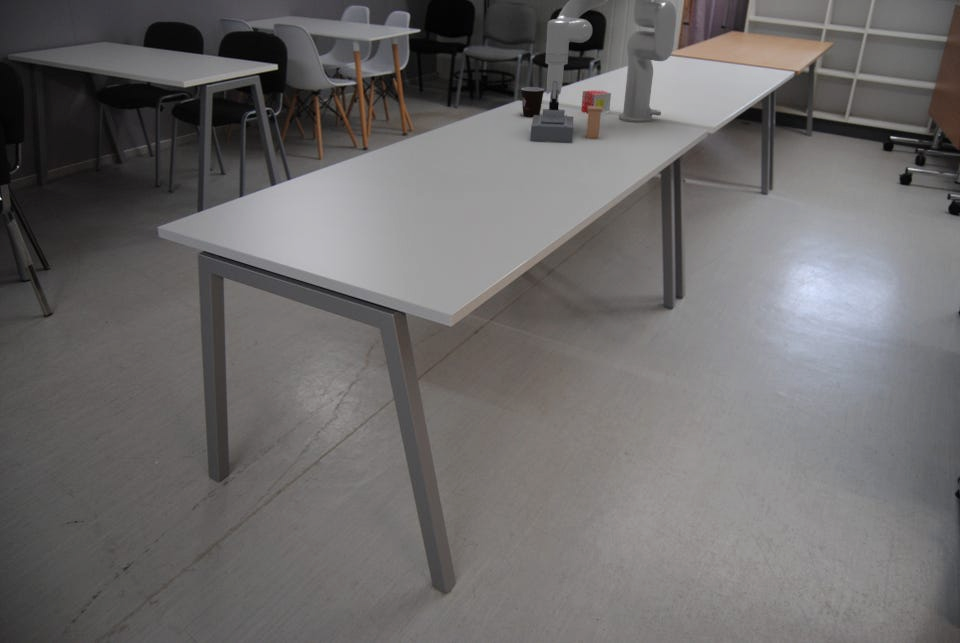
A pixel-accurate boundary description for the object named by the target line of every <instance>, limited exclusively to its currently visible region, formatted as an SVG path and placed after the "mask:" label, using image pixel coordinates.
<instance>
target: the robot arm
mask: <svg viewBox="0 0 960 643" xmlns="http://www.w3.org/2000/svg"><path fill="white" fill-rule="evenodd" d="M608 1H609V0H569V1H568V2H566V4H564V6H563V8H562V9H561V11H560V12H559V14H558V16H557V17H556V18H555V19H554V18H553V19H551V20H549V21H548V22H547V28H546V29H547V30H546V48H545V49H546V50H545V62H544V63H545V64H546V65H548V66H547V76H546V77H547V78H546V94H547V95H549V94H550V97H549V98H550V99H549V103H548V105H549V106H548V109H559V104H560V102H559V95H561V93H562V88H563V79H564V69H565V68H564V67H565V66H566V65H568V62H569V44H570V43H577V44H578V43H579V44H581V43H582V44H583V43H584V42H587V41H588V40H589V39H590V38H591V37H592V35H593V26H592V24H591V23H590V21H588V20H587V19H584V18H580V17H581V16H582V15H583V14H584V13H587V11H590V10H592V9H595V8H598V7H600V6H602V5H604V4H606V3H608ZM633 3H634V5H633V21H634V24H635V25H636V26H638V27H641V28H648V29H653V30H654V31H648V30H638V31H635V32H632V34H631V35H629V37H628V39H627V44H626V49H627V50H626V51H627V73H626V82H625V83H626V84H625V90H624V91H625V93H624V102H623V112H622V113H619V115H618V119H619V120H622V121H627V122H635V123H645V122H650V121H652V120H653V116H662V110H661V109H654V108H651V106H650V103H651V102H650V101H651V93H652V86H653V77H654V67H653V63H652V61H655V62H664V61H667V60H668V59H669V58H670V57H671V55H672V52H673V49H674V44H675V36H676V26H677V24H676V23H677V11H676V10H677V9H676V7H675V5H674V3H672V2H671V1H669V0H634V2H633Z"/></svg>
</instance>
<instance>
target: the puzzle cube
mask: <svg viewBox="0 0 960 643" xmlns="http://www.w3.org/2000/svg"><path fill="white" fill-rule="evenodd" d="M581 97H582V98H581V99H582V100H581V108H580V109H581V111H583V112H582V113H585V112H586V113H585V114H588V106H602V112H601V115H604V114H603V113H606V111H609V112H610V111H611V110H610V108H611V100H612V99H611V98H612V92H609V91H604V90H600V89H595V90H583V91H582V96H581Z"/></svg>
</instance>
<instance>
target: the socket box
mask: <svg viewBox="0 0 960 643" xmlns="http://www.w3.org/2000/svg"><path fill="white" fill-rule="evenodd" d="M530 127H531V128H530V142H546V141H551V143H553V142H554V143H570V142H572V143H573V138H574V116H568V115H567V114H564V123H548V122H542V113H540V115H534V117H533V118H532V121H531V126H530Z"/></svg>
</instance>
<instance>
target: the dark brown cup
mask: <svg viewBox="0 0 960 643" xmlns="http://www.w3.org/2000/svg"><path fill="white" fill-rule="evenodd" d="M520 90H521V91H520V92H521V103H522V105H521V106H522V116H523V117H524V118H532V117H534V115H540V114H541V109H542V105H543V97H544V92H545V89H544V88H543V87H542V88H541V87H534V86H527V87H522V88H521V89H520Z"/></svg>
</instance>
